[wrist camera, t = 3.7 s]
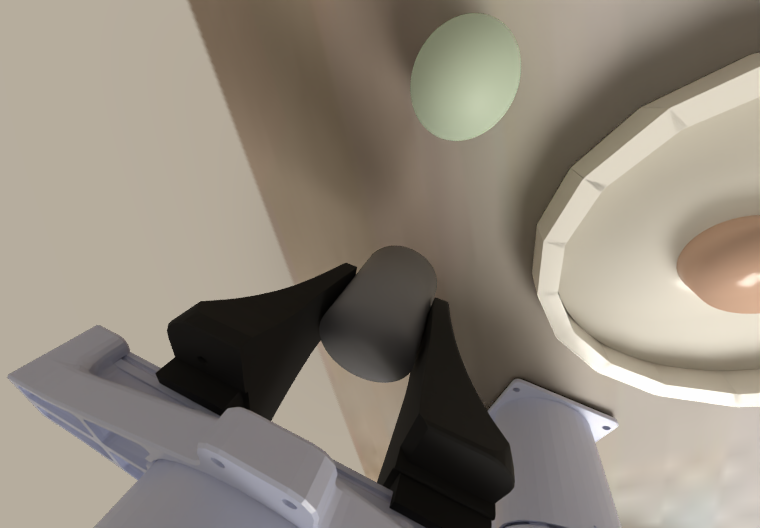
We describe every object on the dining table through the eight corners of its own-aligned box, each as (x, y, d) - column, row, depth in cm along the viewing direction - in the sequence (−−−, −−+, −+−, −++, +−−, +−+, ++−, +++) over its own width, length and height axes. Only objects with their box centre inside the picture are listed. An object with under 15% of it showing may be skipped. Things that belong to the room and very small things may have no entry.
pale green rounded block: (490, 139, 15) (491, 152, 11) (422, 120, 16) (399, 126, 12) (527, 50, 13) (544, 26, 9) (446, 33, 14) (427, 2, 10)
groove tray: (754, 407, 17) (790, 447, 15) (488, 306, 20) (488, 329, 18) (1333, 101, 8) (1630, 99, 6) (674, -8, 11) (717, -34, 9)
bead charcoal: (423, 319, 15) (400, 395, 11) (359, 293, 16) (315, 356, 12) (447, 262, 13) (429, 332, 9) (372, 235, 14) (323, 288, 10)
